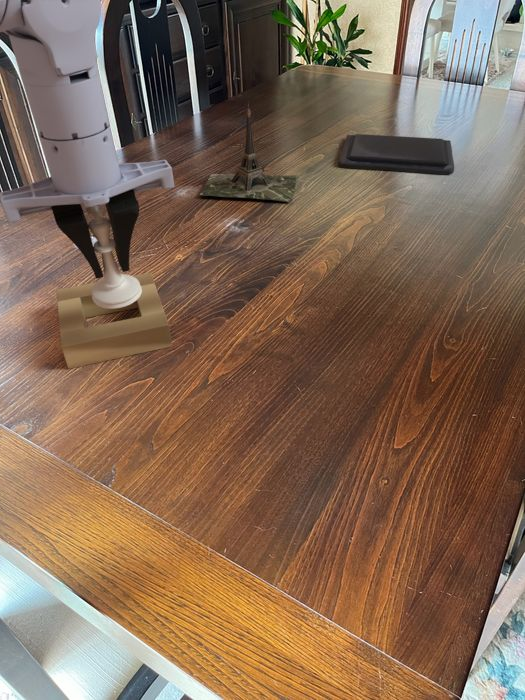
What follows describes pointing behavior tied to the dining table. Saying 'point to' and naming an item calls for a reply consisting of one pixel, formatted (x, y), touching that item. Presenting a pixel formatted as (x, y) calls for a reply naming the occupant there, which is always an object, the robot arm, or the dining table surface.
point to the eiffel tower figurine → (250, 178)
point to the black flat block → (397, 154)
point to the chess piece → (110, 268)
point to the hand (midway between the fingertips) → (110, 269)
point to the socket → (110, 325)
